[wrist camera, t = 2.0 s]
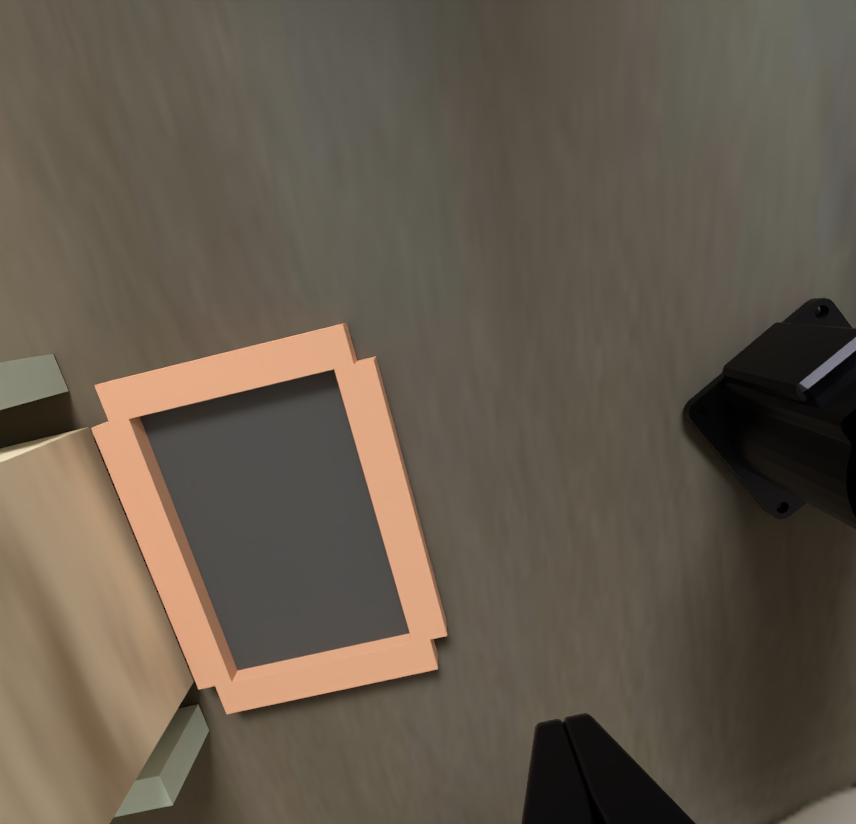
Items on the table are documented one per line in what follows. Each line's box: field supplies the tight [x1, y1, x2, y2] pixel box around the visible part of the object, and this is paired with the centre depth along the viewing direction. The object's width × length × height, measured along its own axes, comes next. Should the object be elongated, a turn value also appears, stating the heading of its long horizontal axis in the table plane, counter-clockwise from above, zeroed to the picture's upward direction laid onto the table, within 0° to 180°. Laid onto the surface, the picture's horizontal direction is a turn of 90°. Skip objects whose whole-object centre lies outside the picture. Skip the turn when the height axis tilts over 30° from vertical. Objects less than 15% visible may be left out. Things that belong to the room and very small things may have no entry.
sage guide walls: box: [0, 354, 209, 817], centre depth 20 cm, size 9×18×4 cm, turn 14°
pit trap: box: [91, 323, 447, 714], centre depth 21 cm, size 11×15×1 cm
